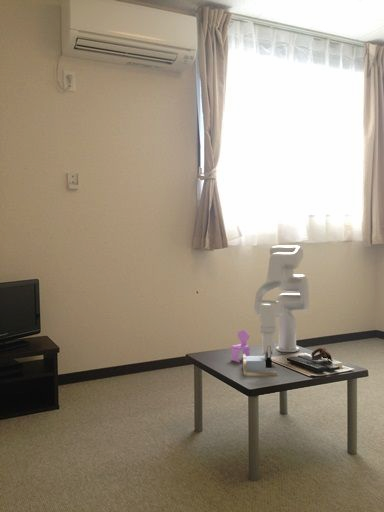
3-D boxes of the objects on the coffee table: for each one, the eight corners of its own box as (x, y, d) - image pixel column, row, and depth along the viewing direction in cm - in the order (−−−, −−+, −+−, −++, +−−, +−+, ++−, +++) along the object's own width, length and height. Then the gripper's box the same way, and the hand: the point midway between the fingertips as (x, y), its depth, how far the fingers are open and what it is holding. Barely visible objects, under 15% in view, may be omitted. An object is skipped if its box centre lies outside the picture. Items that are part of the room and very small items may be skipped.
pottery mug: (333, 366, 231) (325, 352, 231) (316, 373, 236) (307, 359, 235) (335, 354, 242) (327, 341, 241) (318, 360, 246) (310, 347, 246)
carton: (245, 368, 230) (245, 355, 230) (264, 368, 230) (264, 356, 229) (246, 373, 221) (246, 361, 221) (265, 373, 221) (265, 361, 220)
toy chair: (229, 359, 246) (228, 331, 245) (241, 356, 251) (241, 328, 250) (240, 363, 239) (239, 333, 238) (252, 360, 244) (252, 331, 244)
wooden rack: (243, 365, 234) (242, 353, 234) (274, 366, 233) (274, 353, 232) (243, 375, 218) (243, 362, 218) (277, 375, 217) (277, 363, 217)
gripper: (258, 326, 232) (259, 363, 233) (260, 332, 217) (261, 372, 218) (274, 326, 231) (274, 363, 232) (277, 332, 216) (277, 372, 217)
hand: (268, 367), depth 225 cm, fingers closed
